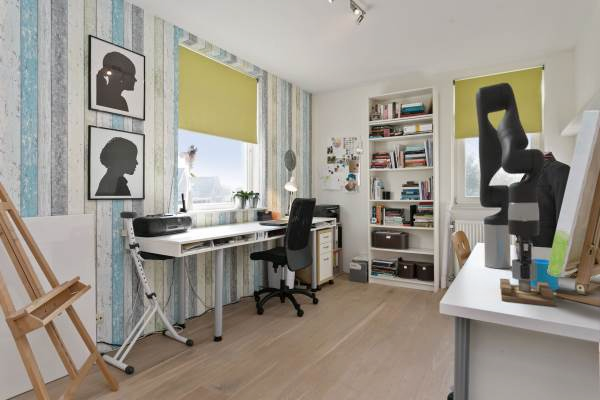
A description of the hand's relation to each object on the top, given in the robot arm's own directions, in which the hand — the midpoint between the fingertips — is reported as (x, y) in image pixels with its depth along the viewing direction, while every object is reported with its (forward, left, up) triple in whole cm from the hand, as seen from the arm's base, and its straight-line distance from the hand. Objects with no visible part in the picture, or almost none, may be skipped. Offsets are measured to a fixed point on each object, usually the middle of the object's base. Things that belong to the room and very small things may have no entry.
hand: (524, 276), depth 101 cm
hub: (0, 0, -1) cm, 1 cm away
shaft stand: (0, 0, -6) cm, 6 cm away
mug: (-16, +6, -6) cm, 18 cm away
